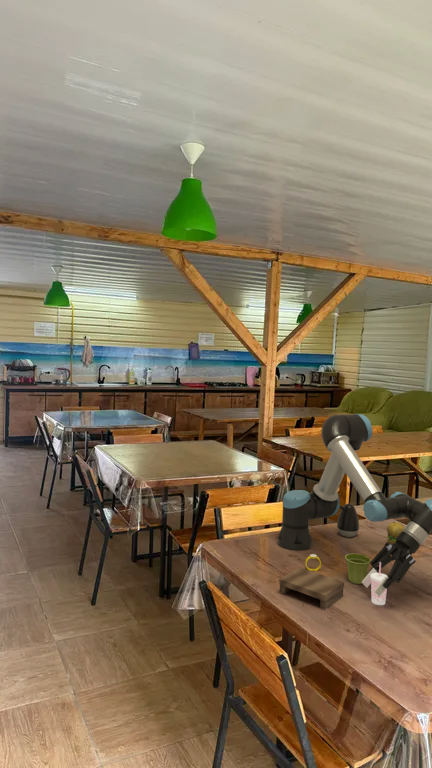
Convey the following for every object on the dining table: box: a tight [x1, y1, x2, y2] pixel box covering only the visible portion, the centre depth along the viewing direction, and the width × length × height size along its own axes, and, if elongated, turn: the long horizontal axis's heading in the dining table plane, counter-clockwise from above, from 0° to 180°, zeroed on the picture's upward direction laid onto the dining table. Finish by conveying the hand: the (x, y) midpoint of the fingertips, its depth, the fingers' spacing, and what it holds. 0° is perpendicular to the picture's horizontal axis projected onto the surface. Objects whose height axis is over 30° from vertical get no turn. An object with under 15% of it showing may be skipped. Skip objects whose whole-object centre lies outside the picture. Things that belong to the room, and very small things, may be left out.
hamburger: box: [386, 520, 405, 545], centre depth 231 cm, size 8×7×12 cm
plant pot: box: [344, 553, 372, 585], centre depth 194 cm, size 9×9×9 cm
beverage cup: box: [370, 562, 388, 606], centre depth 177 cm, size 6×6×14 cm
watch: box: [304, 553, 322, 572], centre depth 203 cm, size 6×3×6 cm, turn 89°
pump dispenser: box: [336, 503, 360, 538], centre depth 243 cm, size 10×10×15 cm
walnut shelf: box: [278, 566, 345, 610], centre depth 182 cm, size 18×14×5 cm
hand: (370, 589), depth 176 cm, fingers closed on beverage cup, 6 cm apart
